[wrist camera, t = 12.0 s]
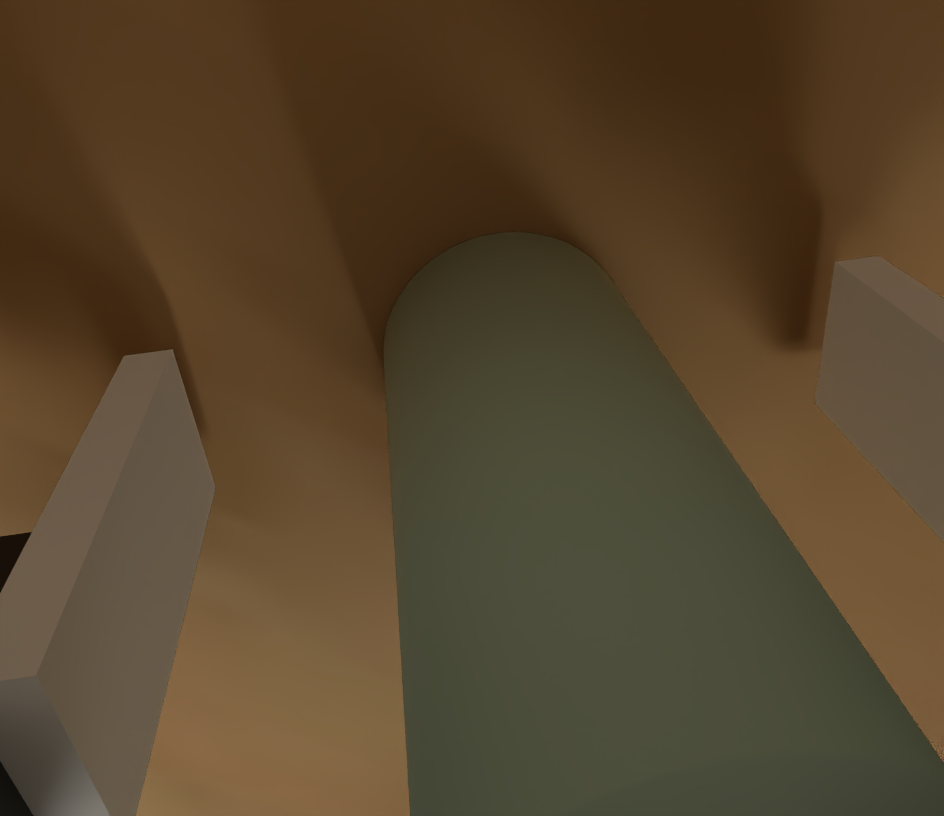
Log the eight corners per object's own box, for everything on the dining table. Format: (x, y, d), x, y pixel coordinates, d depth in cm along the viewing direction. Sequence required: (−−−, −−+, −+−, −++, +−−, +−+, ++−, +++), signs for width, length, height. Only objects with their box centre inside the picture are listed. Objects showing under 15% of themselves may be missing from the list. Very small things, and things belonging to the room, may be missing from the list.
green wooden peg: (627, 436, 16) (928, 1024, 8) (400, 468, 16) (451, 1114, 7) (628, 216, 14) (1062, 704, 5) (364, 250, 14) (379, 817, 5)
